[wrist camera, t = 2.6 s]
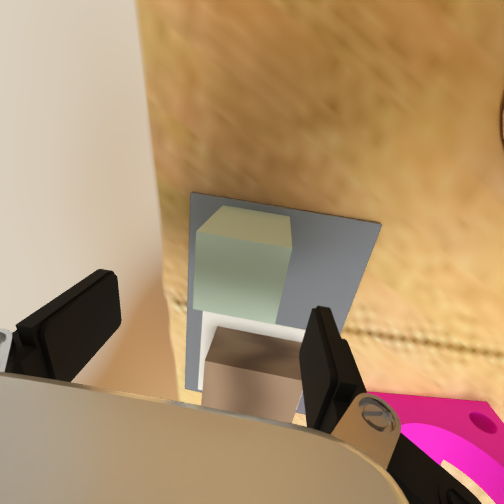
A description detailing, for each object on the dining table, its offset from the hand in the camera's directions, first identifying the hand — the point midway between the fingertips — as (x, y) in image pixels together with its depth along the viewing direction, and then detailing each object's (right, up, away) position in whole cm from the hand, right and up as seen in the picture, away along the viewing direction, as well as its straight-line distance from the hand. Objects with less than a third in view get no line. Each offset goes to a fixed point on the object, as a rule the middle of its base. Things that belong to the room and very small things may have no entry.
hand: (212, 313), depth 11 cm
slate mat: (+3, -4, +11) cm, 12 cm away
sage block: (+2, +4, +7) cm, 8 cm away
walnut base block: (+2, -8, +13) cm, 15 cm away
